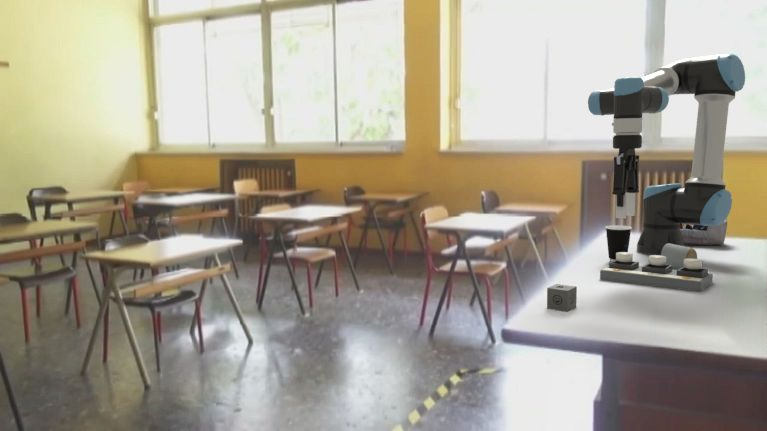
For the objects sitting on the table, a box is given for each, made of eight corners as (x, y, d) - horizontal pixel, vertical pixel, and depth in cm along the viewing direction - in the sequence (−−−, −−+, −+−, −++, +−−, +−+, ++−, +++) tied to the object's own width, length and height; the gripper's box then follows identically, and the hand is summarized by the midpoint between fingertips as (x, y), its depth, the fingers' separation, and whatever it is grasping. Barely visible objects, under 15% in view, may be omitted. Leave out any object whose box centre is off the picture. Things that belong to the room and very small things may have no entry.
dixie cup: (634, 263, 200) (635, 228, 199) (608, 263, 201) (609, 228, 199) (626, 259, 208) (627, 225, 207) (601, 259, 209) (602, 225, 207)
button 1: (619, 258, 185) (619, 251, 185) (634, 260, 183) (634, 253, 182) (613, 260, 182) (613, 253, 182) (629, 262, 179) (629, 255, 179)
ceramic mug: (687, 274, 184) (688, 247, 183) (659, 270, 190) (660, 244, 189) (702, 269, 191) (703, 243, 190) (674, 265, 197) (675, 240, 196)
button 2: (685, 265, 174) (686, 257, 174) (703, 267, 171) (703, 259, 171) (681, 267, 171) (681, 260, 171) (699, 269, 168) (699, 262, 168)
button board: (615, 271, 189) (615, 258, 188) (712, 282, 172) (713, 268, 172) (600, 279, 180) (600, 265, 179) (700, 291, 163) (701, 276, 163)
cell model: (729, 217, 224) (667, 216, 231) (729, 247, 225) (666, 246, 233) (725, 212, 236) (666, 212, 243) (725, 241, 237) (666, 240, 245)
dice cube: (556, 304, 154) (556, 283, 153) (576, 307, 151) (576, 286, 150) (547, 308, 150) (547, 287, 150) (567, 312, 147) (567, 290, 146)
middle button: (651, 261, 180) (651, 254, 180) (668, 263, 177) (668, 256, 177) (646, 264, 176) (646, 257, 176) (663, 266, 174) (663, 258, 173)
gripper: (625, 134, 188) (623, 212, 191) (600, 134, 173) (599, 219, 176) (652, 133, 183) (650, 214, 186) (629, 134, 168) (626, 221, 171)
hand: (625, 216), depth 181 cm, fingers open, 6 cm apart
